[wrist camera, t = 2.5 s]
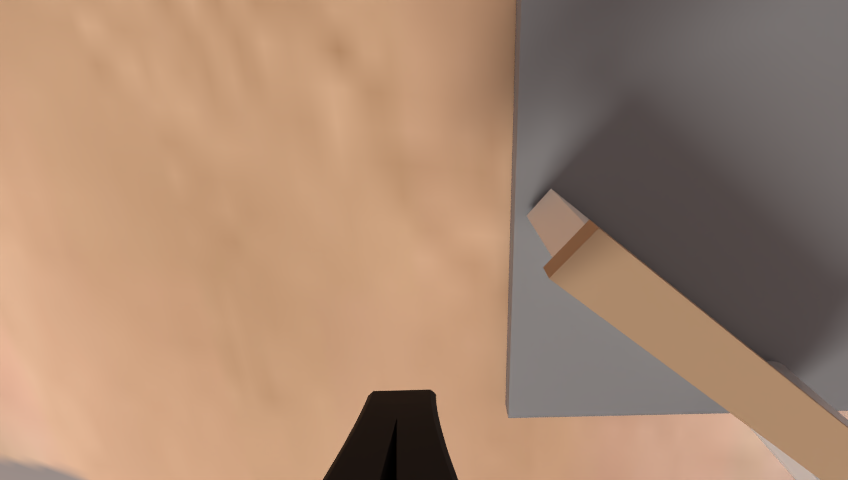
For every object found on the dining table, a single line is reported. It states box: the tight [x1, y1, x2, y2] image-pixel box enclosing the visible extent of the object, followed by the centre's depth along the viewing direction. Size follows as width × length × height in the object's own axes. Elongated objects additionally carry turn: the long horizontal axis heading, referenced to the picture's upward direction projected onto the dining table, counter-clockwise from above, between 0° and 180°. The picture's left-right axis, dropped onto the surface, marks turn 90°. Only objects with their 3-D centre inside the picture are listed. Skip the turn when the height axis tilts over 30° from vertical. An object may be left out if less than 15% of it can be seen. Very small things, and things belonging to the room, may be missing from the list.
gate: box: [527, 189, 848, 480], centre depth 13 cm, size 13×2×5 cm, turn 53°
